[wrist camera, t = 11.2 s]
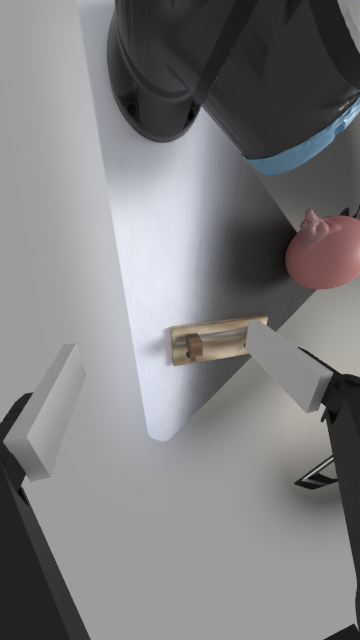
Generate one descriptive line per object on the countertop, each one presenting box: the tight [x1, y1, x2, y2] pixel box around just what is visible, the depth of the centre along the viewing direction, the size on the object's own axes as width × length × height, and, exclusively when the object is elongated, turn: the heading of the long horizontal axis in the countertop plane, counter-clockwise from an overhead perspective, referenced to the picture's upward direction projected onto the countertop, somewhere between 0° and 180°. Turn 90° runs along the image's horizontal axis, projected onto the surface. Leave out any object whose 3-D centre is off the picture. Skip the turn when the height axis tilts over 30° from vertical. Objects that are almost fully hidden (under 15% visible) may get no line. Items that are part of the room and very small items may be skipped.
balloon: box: [285, 209, 360, 289], centre depth 41 cm, size 15×20×15 cm
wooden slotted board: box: [171, 315, 268, 366], centre depth 52 cm, size 12×28×7 cm, turn 92°
